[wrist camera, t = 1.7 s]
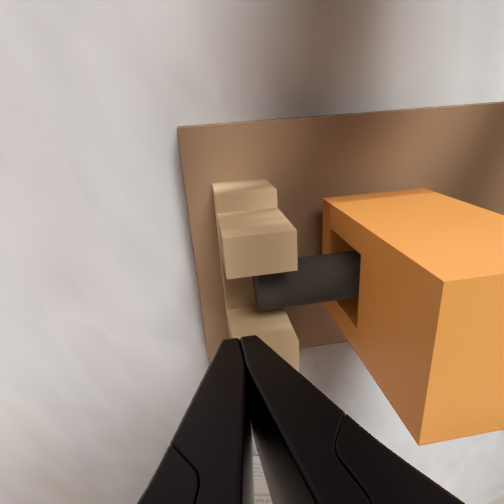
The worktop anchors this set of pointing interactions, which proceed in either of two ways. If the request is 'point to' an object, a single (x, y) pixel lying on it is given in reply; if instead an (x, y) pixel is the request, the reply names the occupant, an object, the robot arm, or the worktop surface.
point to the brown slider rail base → (315, 207)
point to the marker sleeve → (425, 306)
